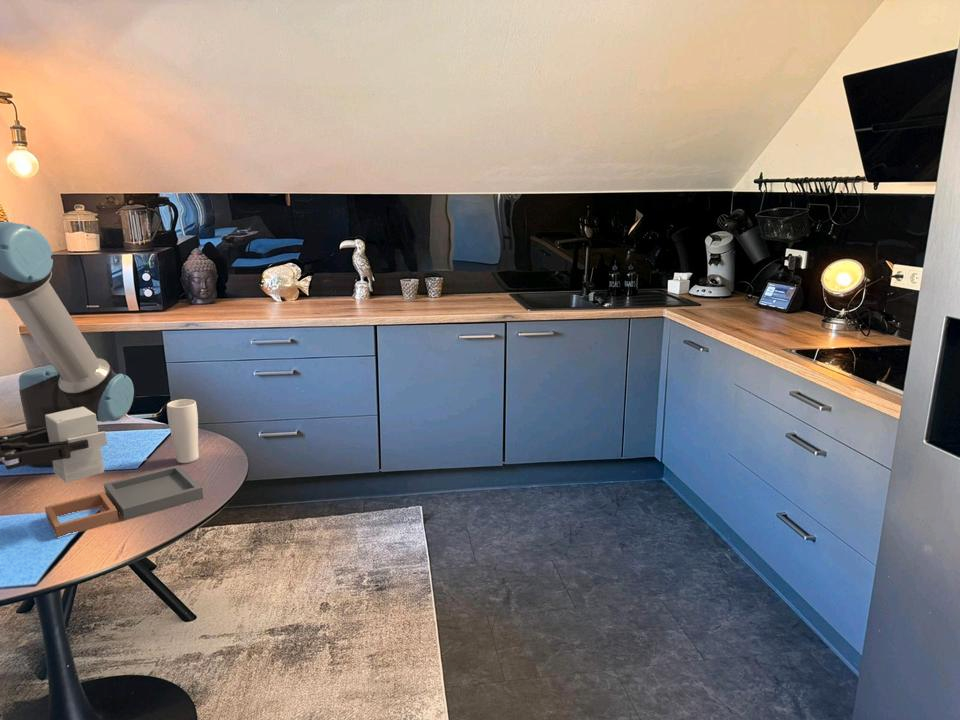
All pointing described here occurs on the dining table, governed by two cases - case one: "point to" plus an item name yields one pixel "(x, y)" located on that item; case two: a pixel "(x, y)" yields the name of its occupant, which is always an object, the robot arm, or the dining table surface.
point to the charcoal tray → (152, 491)
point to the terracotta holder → (84, 522)
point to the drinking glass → (184, 429)
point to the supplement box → (70, 427)
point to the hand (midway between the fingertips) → (100, 432)
